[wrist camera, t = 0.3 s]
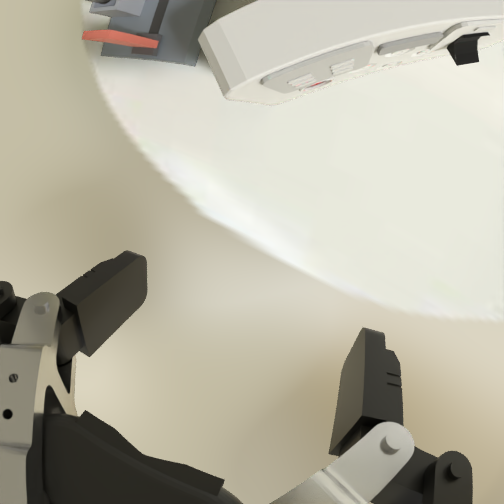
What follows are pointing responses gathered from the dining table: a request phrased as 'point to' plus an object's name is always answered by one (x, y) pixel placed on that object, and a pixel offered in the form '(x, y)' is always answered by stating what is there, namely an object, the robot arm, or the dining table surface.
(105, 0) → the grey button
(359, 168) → the dining table surface
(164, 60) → the console
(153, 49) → the red lever
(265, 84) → the rounded white slab
